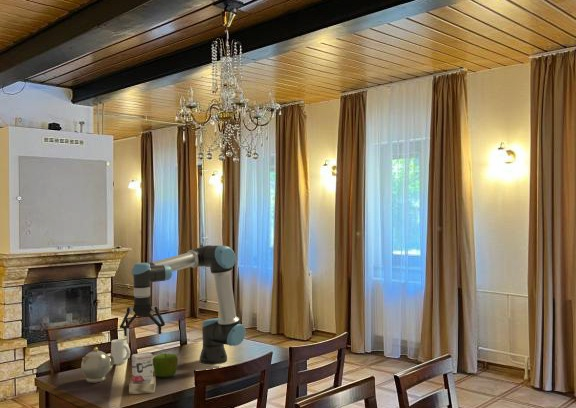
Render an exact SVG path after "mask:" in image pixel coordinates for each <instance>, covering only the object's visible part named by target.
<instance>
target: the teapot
mask: <svg viewBox="0 0 576 408" xmlns="http://www.w3.org/2000/svg"><path fill="white" fill-rule="evenodd" d="M114 365H115V364H114V358H113V356H112V355H111V353H106V352H104V351H101V350H99V348H98V347H97V346H95V347H93V350H92V351H90V352H88V353H87V354H86V355H85V356H84V357H82V360H81V365H80V368H81V371H82V374H83V375H84V376H85V377H86V382H87V383H89V384H97V383H98V382H99V383H103V382H104V381H105V380H106V375H108V373H109V372H110V371H112V370H113V368H114ZM99 383H98V384H99Z"/></svg>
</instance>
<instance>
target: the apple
mask: <svg viewBox="0 0 576 408" xmlns="http://www.w3.org/2000/svg"><path fill="white" fill-rule="evenodd" d="M178 360H179V357H178V356H177V355H176V354H174V353H160V354H157V355H155V356H153V371H154V372H153V373H154V374H155V375H154V376H157V377H159V378H162V379H163V378H164V379H165V378H166V379H167V378H172V377H173V376H174V375H175V374H176V373H177V369H178Z"/></svg>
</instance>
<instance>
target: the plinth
mask: <svg viewBox="0 0 576 408" xmlns="http://www.w3.org/2000/svg"><path fill="white" fill-rule="evenodd" d="M156 376H157V375H153V379H152V380H146V381H140V382H134V381H133V380H132V377H131V379H130V381H129V384H128V394H129V395H136V394H137V395H139V394H154V393H155V390H156V385H157V381H156V380H157V379H156Z"/></svg>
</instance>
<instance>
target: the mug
mask: <svg viewBox="0 0 576 408" xmlns="http://www.w3.org/2000/svg"><path fill="white" fill-rule="evenodd" d="M110 350H111V351H110V354H111V355H112V356H113V358H114V365H122V364H126V363H127V360H128V359H129V358H130V356H131V349H130V347H129V346H128V344H127V339H124V338H118V339H112V340H111V346H110Z"/></svg>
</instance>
